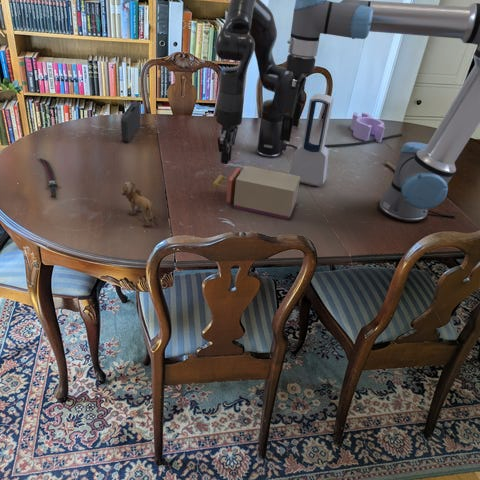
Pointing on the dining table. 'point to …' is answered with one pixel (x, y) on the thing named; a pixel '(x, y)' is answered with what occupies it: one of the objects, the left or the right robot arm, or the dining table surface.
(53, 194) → the sword
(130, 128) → the handheld gaming console
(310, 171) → the electronic device
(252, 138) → the dining table surface
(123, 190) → the lion figurine
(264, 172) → the cream rectangular box
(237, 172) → the drawer
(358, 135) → the clip
